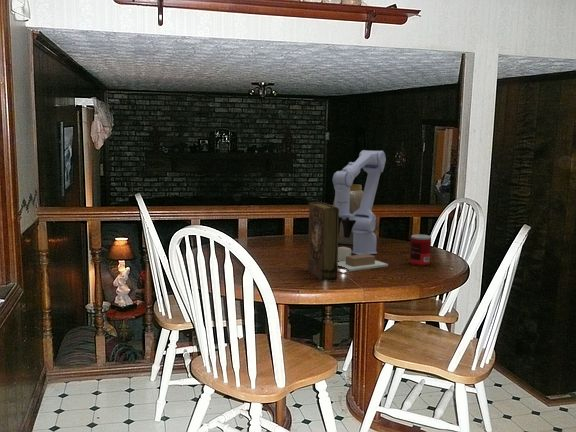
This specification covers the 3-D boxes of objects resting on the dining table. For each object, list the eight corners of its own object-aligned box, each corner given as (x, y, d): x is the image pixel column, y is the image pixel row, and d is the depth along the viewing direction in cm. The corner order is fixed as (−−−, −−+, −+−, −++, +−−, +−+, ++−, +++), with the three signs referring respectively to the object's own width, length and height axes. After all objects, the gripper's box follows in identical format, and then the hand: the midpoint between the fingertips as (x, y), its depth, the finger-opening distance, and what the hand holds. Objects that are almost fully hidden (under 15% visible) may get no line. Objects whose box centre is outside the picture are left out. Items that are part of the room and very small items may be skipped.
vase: (332, 238, 268) (333, 182, 264) (368, 239, 266) (369, 183, 262) (330, 245, 251) (331, 186, 247) (368, 246, 249) (370, 186, 245)
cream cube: (343, 258, 223) (344, 246, 223) (350, 261, 219) (351, 248, 218) (333, 259, 221) (333, 247, 220) (340, 262, 217) (340, 249, 216)
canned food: (430, 262, 218) (432, 235, 216) (429, 266, 210) (430, 238, 209) (411, 260, 220) (412, 233, 219) (408, 265, 213) (409, 237, 211)
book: (306, 269, 203) (308, 202, 200) (320, 269, 205) (322, 202, 201) (322, 281, 188) (323, 208, 184) (337, 280, 189) (339, 207, 186)
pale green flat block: (369, 260, 221) (369, 250, 220) (388, 266, 210) (388, 256, 210) (331, 264, 212) (331, 254, 212) (349, 271, 202) (349, 261, 201)
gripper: (323, 200, 221) (323, 233, 223) (344, 204, 208) (343, 239, 210) (338, 199, 224) (337, 232, 226) (359, 203, 212) (358, 238, 214)
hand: (341, 235), depth 219 cm, fingers open, 7 cm apart
